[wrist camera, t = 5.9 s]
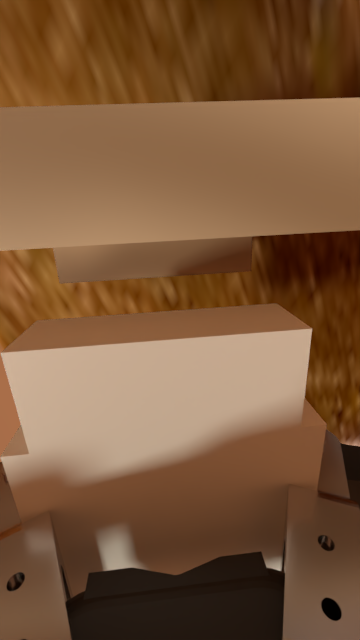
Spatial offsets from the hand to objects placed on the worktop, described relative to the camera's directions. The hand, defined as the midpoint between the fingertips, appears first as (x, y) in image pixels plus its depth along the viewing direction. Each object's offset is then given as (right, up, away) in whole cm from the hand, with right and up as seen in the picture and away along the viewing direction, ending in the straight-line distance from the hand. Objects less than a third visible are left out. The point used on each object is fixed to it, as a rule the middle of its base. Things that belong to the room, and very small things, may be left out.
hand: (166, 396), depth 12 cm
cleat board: (-1, +11, +10) cm, 15 cm away
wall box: (0, 0, +1) cm, 1 cm away
